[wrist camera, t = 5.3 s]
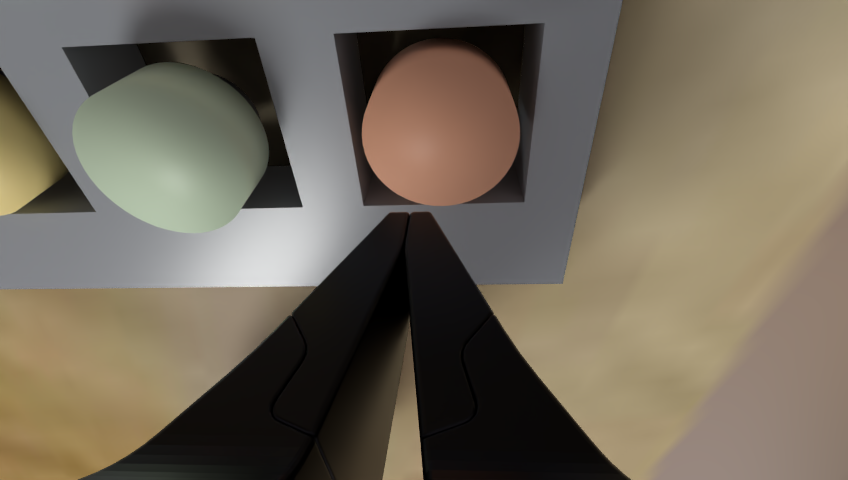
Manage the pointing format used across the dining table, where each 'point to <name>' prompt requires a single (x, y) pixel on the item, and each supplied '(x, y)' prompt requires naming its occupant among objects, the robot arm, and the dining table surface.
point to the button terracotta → (441, 123)
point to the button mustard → (23, 153)
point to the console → (299, 141)
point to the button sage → (173, 146)
